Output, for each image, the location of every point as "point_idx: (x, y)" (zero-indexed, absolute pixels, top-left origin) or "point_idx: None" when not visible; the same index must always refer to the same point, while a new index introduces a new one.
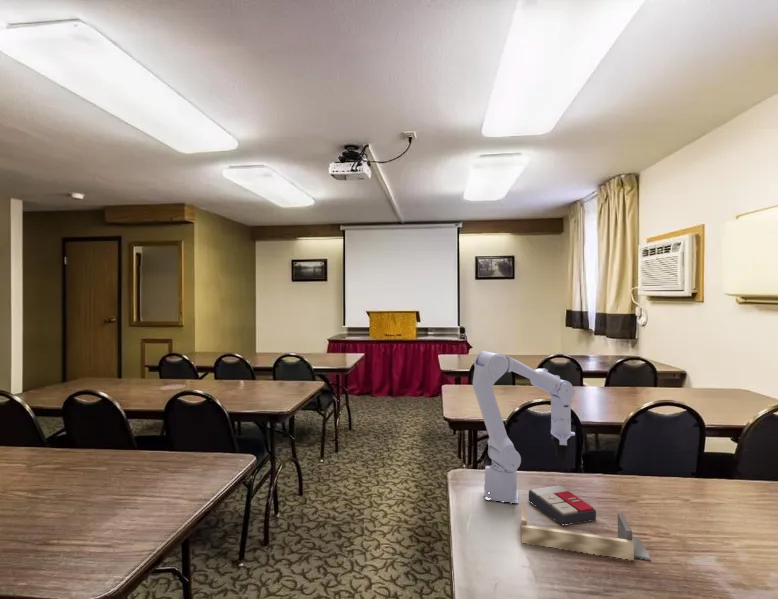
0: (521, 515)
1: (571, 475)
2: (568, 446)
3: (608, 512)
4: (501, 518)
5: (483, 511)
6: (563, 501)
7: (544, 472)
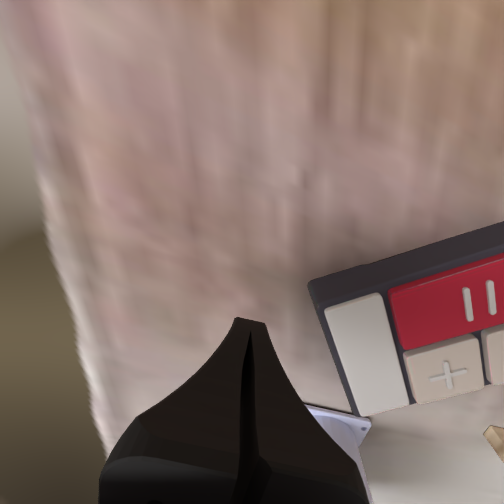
0: (500, 456)
1: (61, 146)
2: (326, 441)
3: (478, 131)
4: (445, 465)
5: (399, 489)
6: (478, 341)
7: (63, 262)
